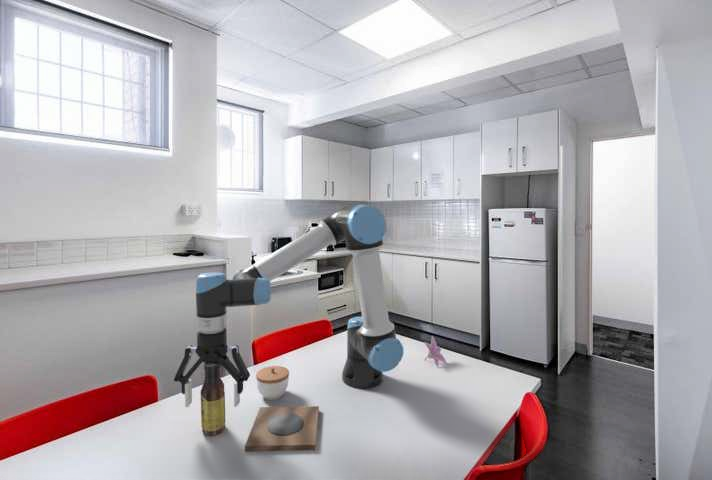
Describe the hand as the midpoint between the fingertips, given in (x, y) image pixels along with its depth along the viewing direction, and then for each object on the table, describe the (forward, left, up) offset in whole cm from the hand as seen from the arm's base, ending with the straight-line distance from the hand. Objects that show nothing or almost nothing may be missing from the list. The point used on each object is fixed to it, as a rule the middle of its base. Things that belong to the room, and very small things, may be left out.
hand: (213, 404), depth 98 cm
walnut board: (-20, 0, -8) cm, 21 cm away
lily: (-74, -43, -8) cm, 86 cm away
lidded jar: (-13, -19, -8) cm, 24 cm away
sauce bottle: (0, 0, -8) cm, 8 cm away
